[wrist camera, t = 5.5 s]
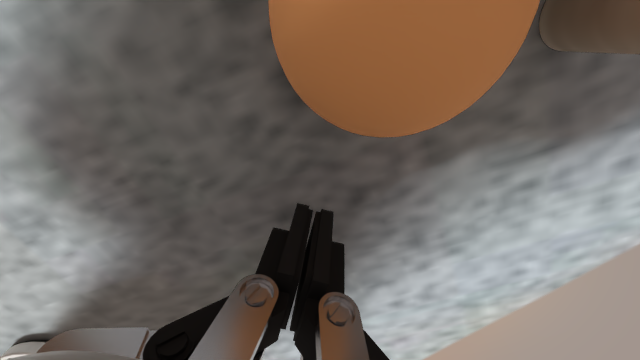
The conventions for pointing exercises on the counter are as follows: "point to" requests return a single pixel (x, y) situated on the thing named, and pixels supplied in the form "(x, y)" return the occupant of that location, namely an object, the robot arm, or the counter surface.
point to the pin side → (591, 26)
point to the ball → (396, 57)
